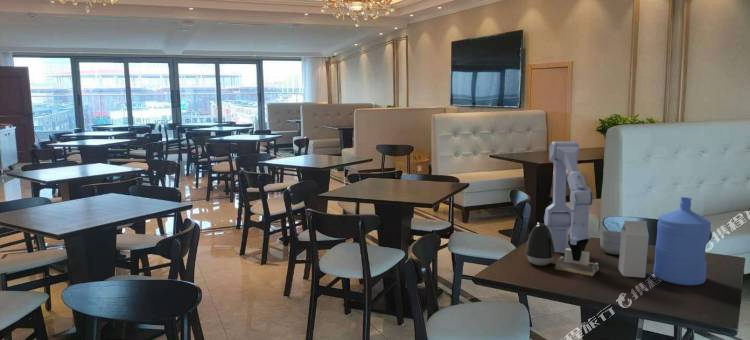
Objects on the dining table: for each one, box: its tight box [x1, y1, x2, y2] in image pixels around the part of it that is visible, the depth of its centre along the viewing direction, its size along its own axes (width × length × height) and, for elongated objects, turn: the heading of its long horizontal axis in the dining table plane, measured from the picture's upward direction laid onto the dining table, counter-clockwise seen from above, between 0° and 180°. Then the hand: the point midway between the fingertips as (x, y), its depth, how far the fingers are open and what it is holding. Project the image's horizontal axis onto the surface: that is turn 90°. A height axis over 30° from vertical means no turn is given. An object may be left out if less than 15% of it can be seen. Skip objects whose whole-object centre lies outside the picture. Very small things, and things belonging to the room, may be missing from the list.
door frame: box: [554, 256, 600, 277], centre depth 192 cm, size 9×13×3 cm
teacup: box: [599, 230, 621, 256], centre depth 210 cm, size 14×11×8 cm
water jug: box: [652, 196, 712, 286], centre depth 181 cm, size 16×16×28 cm
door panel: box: [563, 248, 590, 266], centre depth 192 cm, size 2×8×6 cm, turn 55°
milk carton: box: [617, 220, 650, 279], centre depth 186 cm, size 7×7×19 cm
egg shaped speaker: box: [525, 222, 556, 267], centre depth 197 cm, size 10×10×15 cm
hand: (577, 259), depth 192 cm, fingers closed on door panel, 2 cm apart
